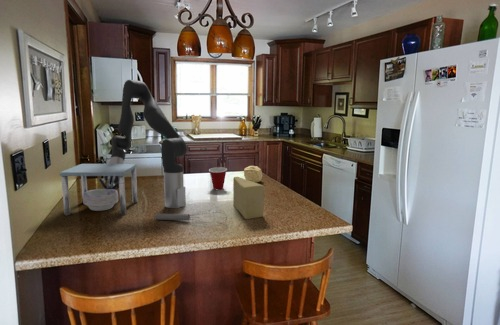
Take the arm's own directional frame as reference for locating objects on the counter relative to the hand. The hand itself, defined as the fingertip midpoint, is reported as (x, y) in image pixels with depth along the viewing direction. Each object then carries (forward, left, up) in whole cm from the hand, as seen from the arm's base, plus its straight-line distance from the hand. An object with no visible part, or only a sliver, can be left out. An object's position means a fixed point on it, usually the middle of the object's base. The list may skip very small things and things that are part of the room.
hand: (108, 196), depth 170 cm
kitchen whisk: (-52, +3, -4) cm, 52 cm away
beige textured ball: (-41, -80, -4) cm, 90 cm away
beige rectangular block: (-65, -22, -4) cm, 69 cm away
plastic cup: (-31, -53, -4) cm, 61 cm away
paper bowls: (-3, +7, -4) cm, 9 cm away
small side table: (-4, +7, -4) cm, 9 cm away
